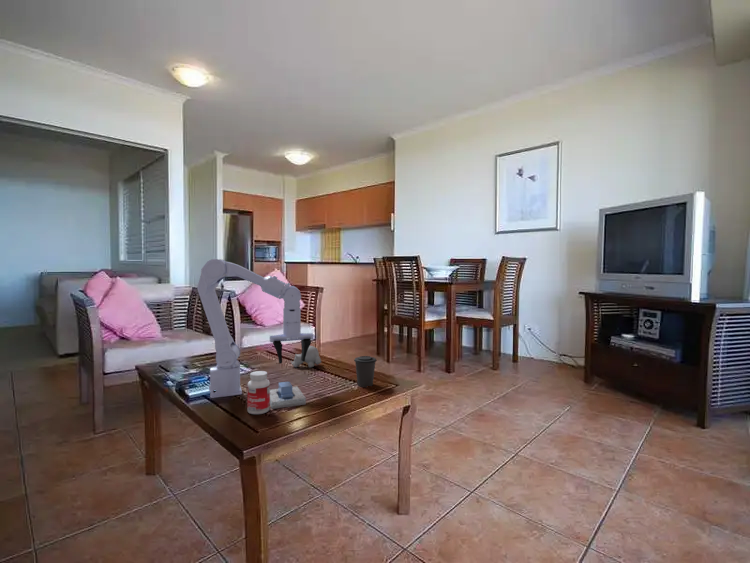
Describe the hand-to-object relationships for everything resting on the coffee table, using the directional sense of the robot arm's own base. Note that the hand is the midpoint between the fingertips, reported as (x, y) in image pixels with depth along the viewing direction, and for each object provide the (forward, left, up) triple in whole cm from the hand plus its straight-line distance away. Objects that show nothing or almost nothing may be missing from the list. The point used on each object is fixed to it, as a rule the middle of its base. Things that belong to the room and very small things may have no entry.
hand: (291, 361), depth 128 cm
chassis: (-4, -10, -9) cm, 14 cm away
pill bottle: (-13, -16, -10) cm, 23 cm away
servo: (-4, -10, -9) cm, 14 cm away
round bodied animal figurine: (+11, +27, -10) cm, 31 cm away
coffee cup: (+25, -5, -10) cm, 27 cm away
